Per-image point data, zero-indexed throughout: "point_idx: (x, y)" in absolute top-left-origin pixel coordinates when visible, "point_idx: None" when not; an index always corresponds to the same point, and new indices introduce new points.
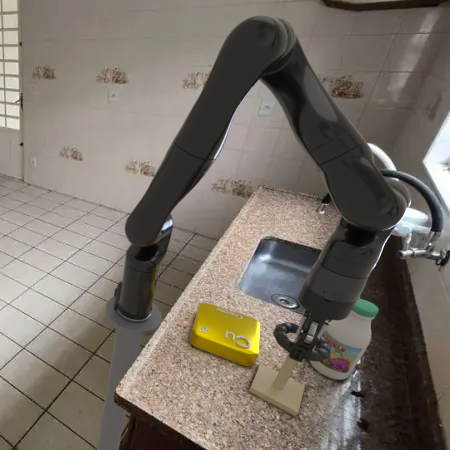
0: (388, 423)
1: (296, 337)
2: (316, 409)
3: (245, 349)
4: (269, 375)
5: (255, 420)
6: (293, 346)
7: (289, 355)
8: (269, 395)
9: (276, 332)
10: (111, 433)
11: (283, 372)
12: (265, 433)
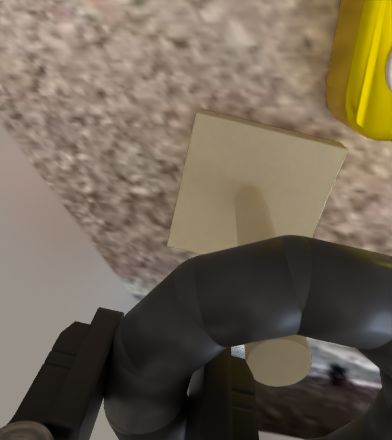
0: (265, 406)
1: (198, 427)
2: None
3: (375, 80)
4: (292, 177)
5: (84, 128)
6: (60, 389)
7: (95, 314)
8: (190, 172)
9: (275, 270)
10: None
11: (240, 231)
12: (55, 155)
